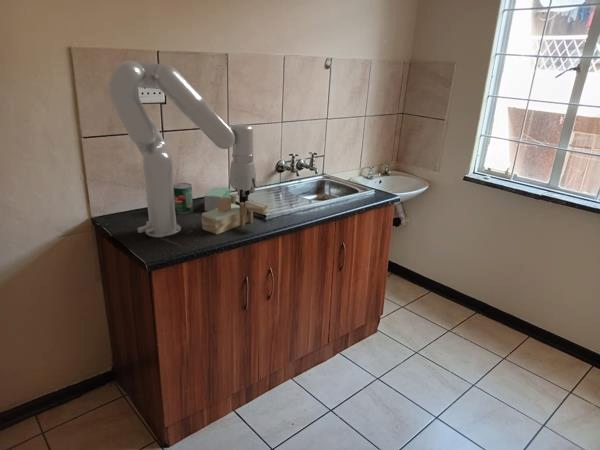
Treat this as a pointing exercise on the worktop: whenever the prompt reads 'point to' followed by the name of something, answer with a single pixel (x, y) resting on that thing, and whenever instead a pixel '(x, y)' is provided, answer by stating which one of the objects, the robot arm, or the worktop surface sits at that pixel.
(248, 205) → the tan wooden block
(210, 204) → the box
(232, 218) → the toolbox
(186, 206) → the canned tomato
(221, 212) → the lid
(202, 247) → the worktop surface
